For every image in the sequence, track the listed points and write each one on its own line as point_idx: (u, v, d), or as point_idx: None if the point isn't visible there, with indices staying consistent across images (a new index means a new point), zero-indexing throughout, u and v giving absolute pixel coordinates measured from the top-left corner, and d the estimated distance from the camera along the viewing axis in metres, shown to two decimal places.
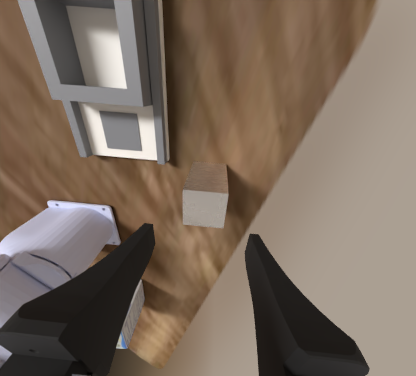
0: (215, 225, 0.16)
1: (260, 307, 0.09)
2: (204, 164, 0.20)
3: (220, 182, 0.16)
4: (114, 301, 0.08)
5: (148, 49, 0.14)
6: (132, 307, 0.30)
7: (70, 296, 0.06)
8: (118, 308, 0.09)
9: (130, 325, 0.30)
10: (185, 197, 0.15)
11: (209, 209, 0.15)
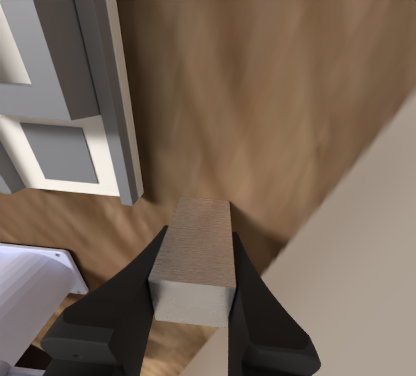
0: (211, 324, 0.09)
1: None
2: (195, 202, 0.13)
3: (220, 251, 0.09)
4: (145, 304, 0.08)
5: (77, 7, 0.07)
6: None
7: (109, 300, 0.06)
8: (147, 311, 0.09)
9: None
10: (154, 289, 0.08)
11: (200, 306, 0.08)
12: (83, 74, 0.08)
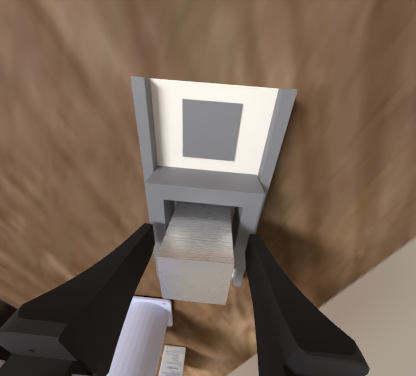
0: (213, 301, 0.10)
1: (260, 307, 0.09)
2: None
3: (220, 234, 0.10)
4: (114, 301, 0.08)
5: None
6: None
7: (70, 296, 0.06)
8: (118, 308, 0.09)
9: None
10: (162, 267, 0.09)
11: (202, 283, 0.09)
12: None
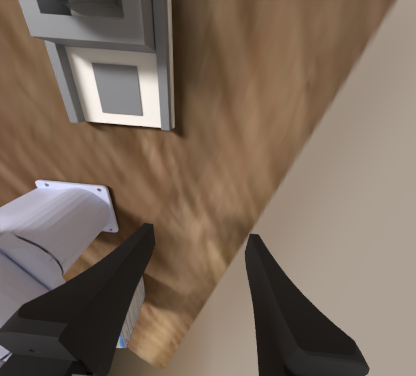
0: None
1: (260, 307, 0.09)
2: None
3: None
4: (114, 301, 0.08)
5: None
6: (131, 302, 0.27)
7: (70, 295, 0.07)
8: (118, 308, 0.09)
9: (129, 322, 0.27)
10: None
11: None
12: (150, 17, 0.12)
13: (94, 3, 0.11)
